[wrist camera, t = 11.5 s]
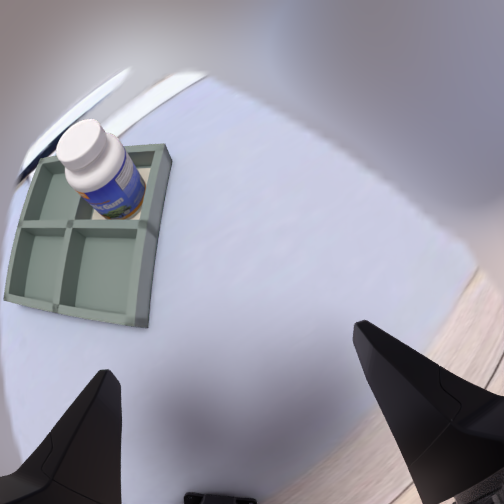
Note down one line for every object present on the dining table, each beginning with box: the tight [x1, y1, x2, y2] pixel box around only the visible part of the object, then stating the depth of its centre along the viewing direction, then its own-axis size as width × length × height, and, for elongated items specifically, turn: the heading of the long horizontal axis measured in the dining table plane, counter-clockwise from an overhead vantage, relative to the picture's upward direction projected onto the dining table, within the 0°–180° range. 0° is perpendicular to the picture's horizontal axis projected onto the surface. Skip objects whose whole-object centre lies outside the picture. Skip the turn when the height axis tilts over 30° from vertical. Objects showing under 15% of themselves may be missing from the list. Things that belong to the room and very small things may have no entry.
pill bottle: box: [56, 119, 146, 220], centre depth 21 cm, size 5×5×10 cm
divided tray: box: [4, 144, 172, 328], centre depth 24 cm, size 16×16×3 cm
